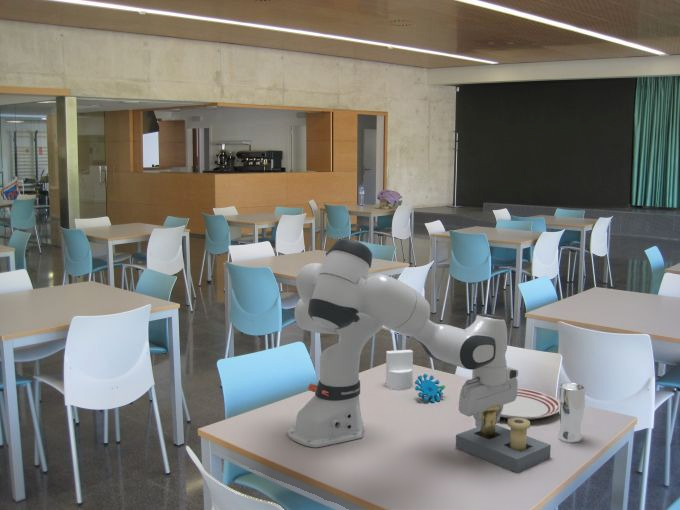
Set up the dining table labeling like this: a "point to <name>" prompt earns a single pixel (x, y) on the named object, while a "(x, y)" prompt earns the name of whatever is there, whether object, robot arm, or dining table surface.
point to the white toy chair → (399, 369)
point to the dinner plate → (530, 405)
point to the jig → (506, 446)
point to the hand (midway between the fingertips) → (487, 423)
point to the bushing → (489, 422)
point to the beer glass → (571, 411)
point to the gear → (429, 388)
